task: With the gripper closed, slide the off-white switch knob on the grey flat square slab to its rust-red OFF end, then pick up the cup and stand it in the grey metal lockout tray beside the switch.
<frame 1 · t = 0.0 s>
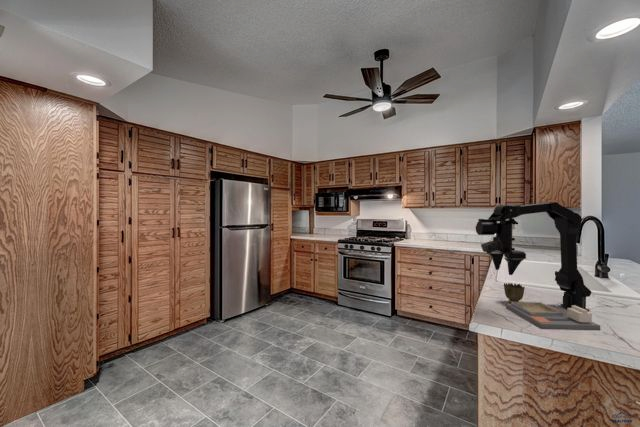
hand: (503, 272, 115), 15 cm above the worktop, tool pointing down, fingers open, 9 cm apart
breaker switch: (579, 313, 97), point 4 cm above the worktop, slide at 0.0 cm
grey flat square slab: (548, 317, 104), on the worktop
cup: (513, 303, 119), on the worktop
lockout tray: (536, 313, 107), resting on grey flat square slab
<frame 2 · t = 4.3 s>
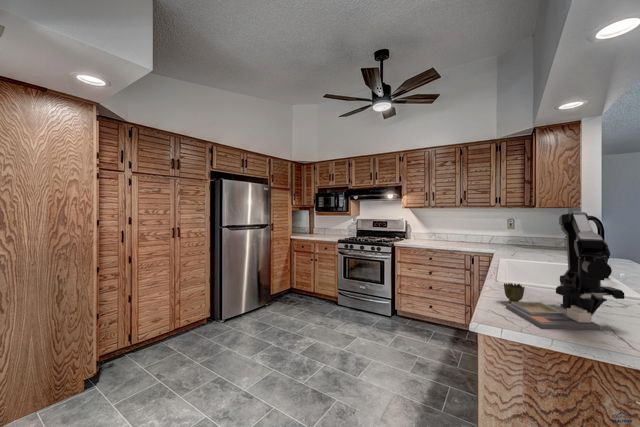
hand: (588, 316, 97), 3 cm above the worktop, tool pointing down, fingers closed
breaker switch: (578, 313, 97), point 4 cm above the worktop, slide at 0.2 cm, touching gripper
everything else where it was.
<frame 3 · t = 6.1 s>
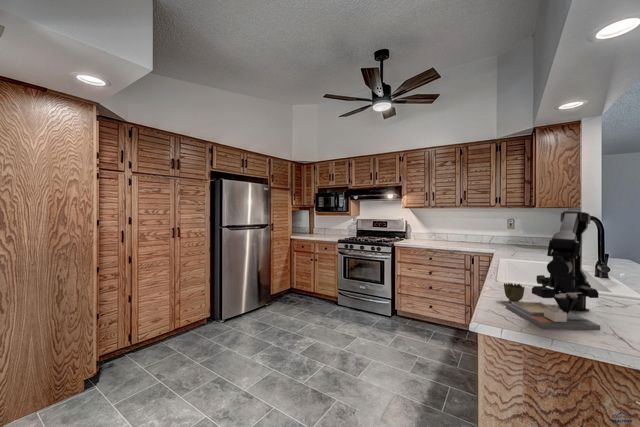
hand: (564, 315, 98), 3 cm above the worktop, tool pointing down, fingers closed
breaker switch: (554, 313, 98), point 4 cm above the worktop, slide at 8.2 cm, touching gripper
everything else where it was.
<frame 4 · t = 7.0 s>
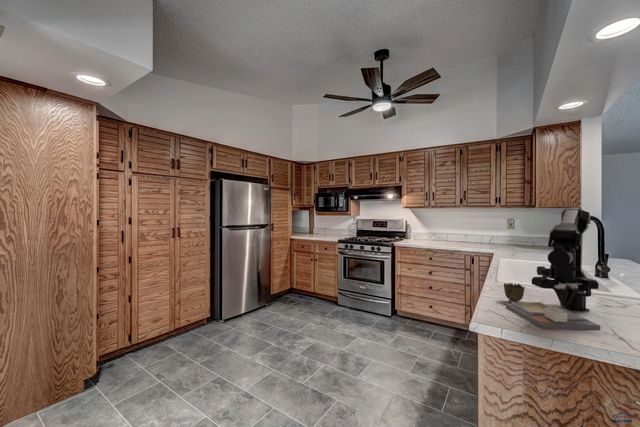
hand: (563, 306, 97), 6 cm above the worktop, tool pointing down, fingers closed
breaker switch: (555, 313, 98), point 4 cm above the worktop, slide at 8.1 cm
everything else where it was.
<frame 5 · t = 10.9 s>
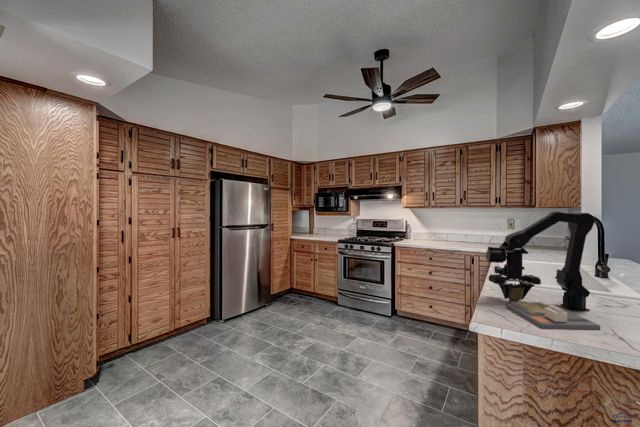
hand: (513, 299, 119), 2 cm above the worktop, tool pointing down, fingers closed on cup, 6 cm apart
cup: (513, 303, 119), on the worktop, touching gripper
everything else where it was.
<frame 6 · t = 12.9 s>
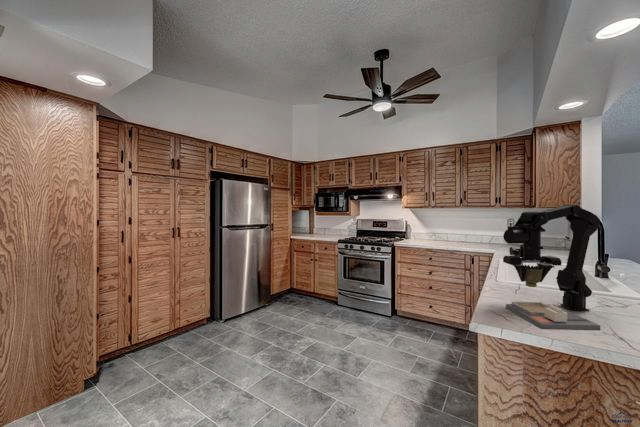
hand: (531, 281, 110), 12 cm above the worktop, tool pointing down, fingers closed on cup, 6 cm apart
cup: (531, 286, 110), point 10 cm above the worktop, touching gripper
everything else where it was.
when the fingers open (5 cm above the worktop, at t = 14.9 s): cup drops 1 cm, resting on lockout tray.
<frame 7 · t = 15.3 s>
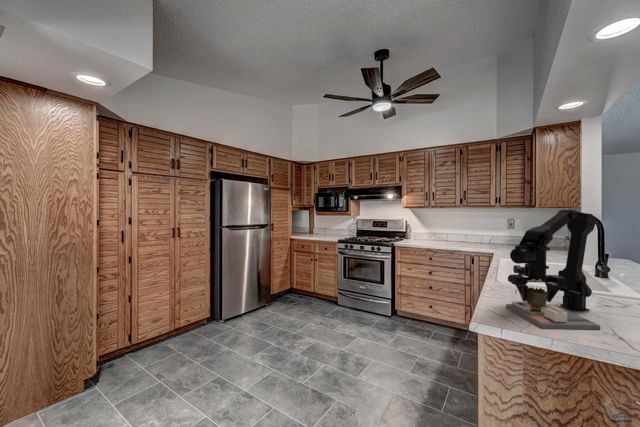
hand: (536, 301, 107), 5 cm above the worktop, tool pointing down, fingers open, 9 cm apart
cup: (535, 310, 107), point 1 cm above the worktop, touching lockout tray
everything else where it was.
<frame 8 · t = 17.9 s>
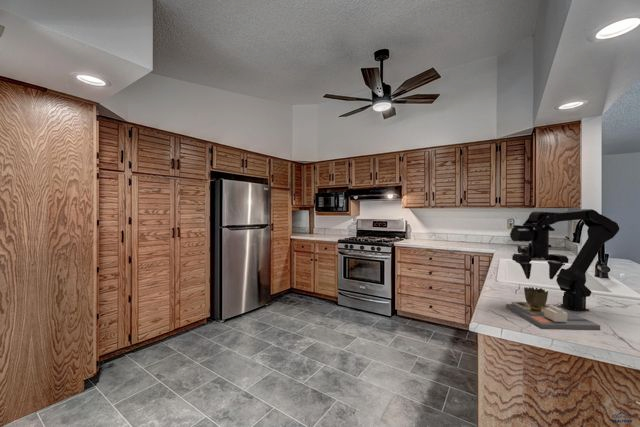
hand: (539, 279, 114), 12 cm above the worktop, tool pointing down, fingers open, 9 cm apart
nothing on the worktop moved.
at the end: breaker switch slide at 8.1 cm; cup 0.1 cm off-centre on the lockout tray, point 1.4 cm above the lockout tray's base; cup tilted 0° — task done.
